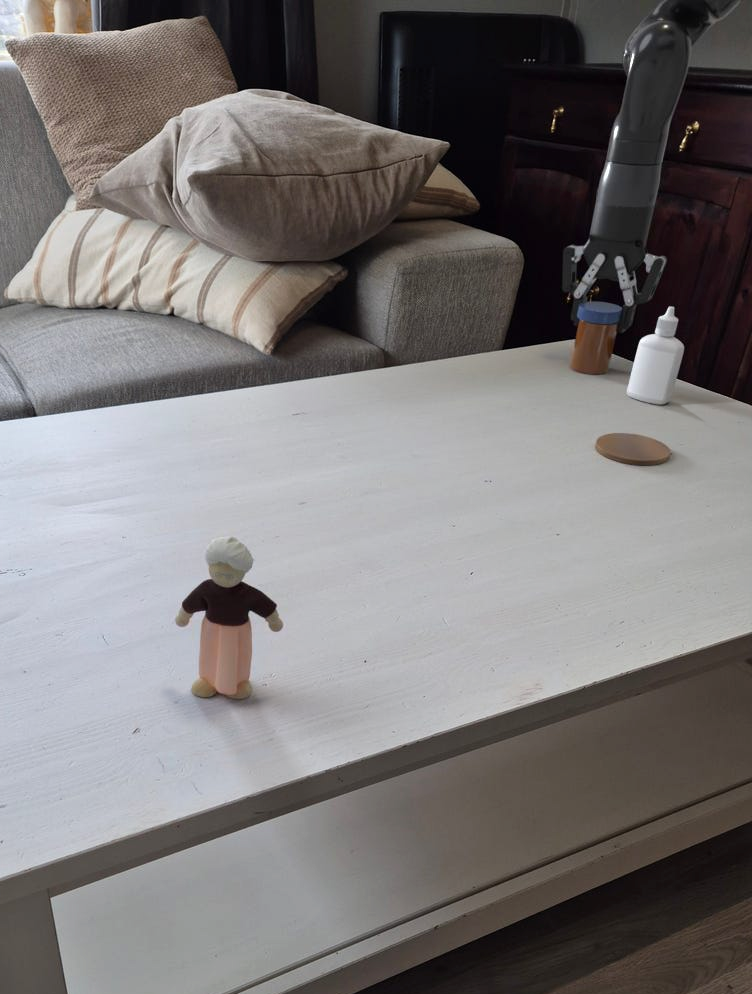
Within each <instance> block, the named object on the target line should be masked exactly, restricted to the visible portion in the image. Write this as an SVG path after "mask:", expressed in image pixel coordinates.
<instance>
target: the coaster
mask: <svg viewBox="0 0 752 994" xmlns="http://www.w3.org/2000/svg"><path fill="white" fill-rule="evenodd" d="M594 448H595V450H596V451H597V452H598V453H599V454H600V455H601V456H603V457H605V458H607V459H609V460H612V461H615V462H618V463H622V464H626V465H633V466H657V465H661V464H663V463H666V462H667V461H669V459H670V456H671V449H670V447H669V446H668V445H666V444H665V443H664V442H662V441H660V440H658V439H655V438H652V437H650V436H646V435H642V434H635V433H629V432H628V433H627V432H614V433H607V434H603V435H600V436H599V437H598V438H596V441H595V444H594Z"/></svg>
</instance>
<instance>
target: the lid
mask: <svg viewBox="0 0 752 994" xmlns="http://www.w3.org/2000/svg"><path fill="white" fill-rule="evenodd" d="M621 312H622V306H620V305H619V304H616V303H615V304H614V303H610V302H606V301H605V302H604V301H587V302H583V303H581V304H580V305H579V307H578V311H577V317H578V318H579V319H580V320H583V321H586V322H590V323H596V324H614V323H617V322H619V321H620V317H621Z"/></svg>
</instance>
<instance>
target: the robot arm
mask: <svg viewBox="0 0 752 994" xmlns="http://www.w3.org/2000/svg"><path fill="white" fill-rule="evenodd" d="M741 1H742V0H661V1H660V2H659V3H658V4H657V5H656V6H655V7H654V8H653V9H652V10H651V11H650V12H649V13H648V14H647V16H646V17H645V18H643V20H642V21H641V22H640V23H639V25H638V26H637V27H636V28H635V29H634V31H633V32H632V33H631V34H630V36H629V37H628V39H627V40H626V43H625V46H624V48H623V51H622V68H623V71H624V74H625V75H626V77H627V79H626V84H625V88H624V93H623V98H622V103H621V107H620V111H619V113H618V114H617V115H616V117H615V119H614V121H613V124H612V127H611V131H610V132H611V133H610V137H609V142H608V148H607V152H606V157H605V163H604V166H603V170H602V171H601V176H600V178H599V184H598V188H597V190H596V195H595V196H596V198H595V199H596V200H595V205H594V210H593V215H592V220H591V226H590V230H589V237H588V240H587V241H586V243H585V244H584V245H575V244H571V245H568V246H567V247H565V248H563V250H562V277H561V279H562V280H561V281H562V282H561V283H562V284H561V290H562V291H563V292H564V293H569V294H570V295H571V296H572V297H573V302H572V308H571V314H570V320H571V321H572V322H573V326H577V327H578V324H579V318H578V317H577V311H578V307H579V305H580V304H581V303H583V302H588V296H587V293H588V292H589V290H590V289H591V287H592V286H593V284H594V283H595V282H596V280H610V281H612V282H619V287H620V290H621V292H622V296H623V301H624V304H623V305H622V306H621V308H622V312H621V317H620V321H619V325H618V330H617V333H620V334H623V333H624V332H626V330H628V329H629V328H630V327H631V326H632V324H633V320H634V318H635V317H634V316H635V313H636V308H637V305H641V304H646V303H647V302H648V301H650V300H651V299H652V298H653V296H654V294H655V291H656V289H657V286H658V284H659V281H660V279H661V278H662V277H661V276H662V274H663V271H664V269H665V267H666V264H667V262H668V261H667V260H668V258H667V256H665V255H660V256H658V255H654V254H651V253H649V252H648V249H647V241H648V238H649V237H648V236H649V232H650V227H651V222H652V218H653V214H654V211H655V210H654V209H655V204H656V200H657V196H658V191H659V189H660V188H659V187H660V182H661V172H662V165H663V164H662V163H663V160H664V156H665V152H666V147H667V142H668V137H669V132H670V126H671V122H672V119H673V116H674V113H675V110H676V107H677V105H678V102H679V99H680V96H681V93H682V91H683V87H684V84H685V81H686V78H687V74H688V71H689V66H690V62H691V55H692V48H693V47H694V46H695V44H696V43H698V42H699V40H700V39H701V38H702V37H703V36H704V34H705V33H706V32H707V31H708V30H709V29H710V28H711V27H712V26H713V25H714V24H716V23H717V22H720V21H721V20H723V19H724V18H726V17H727V16H728V15H729V14H731V12H733V11H734V9H736V7H737V6H738V5H739V4H740V3H741ZM582 255H583V256H584V258H585V261H586V263H587V265H588V267H589V268H588V269H587V271H586V272H585V274H584V275H583V276H582V278H581V280H580V283H577V267H578V266H577V263H578V262H579V261H580V260H581V258H582ZM642 263H645V271H646V273H648V275H647V277H646V280H645V281H644V284H643V286H642V290H641V292H638V288H637V278H636V272H635V271H636V270H637V268H639V267H640V266H641V265H642Z"/></svg>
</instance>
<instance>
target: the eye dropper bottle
mask: <svg viewBox="0 0 752 994" xmlns="http://www.w3.org/2000/svg"><path fill="white" fill-rule="evenodd" d="M678 323H679V318H678V317H676V316H675V307H674V306H668V308H667V310H666V312H665V314H663V315H659V317H658V319H657V322H656V327H655V330H654V333H652V334H647V335H645V336H643V337H641V339H640V340H639V342H638V345H637V349H636V353H635V357H634V361H633V363H632V364H633V365H632V369H631V373H630V376H629V381H628V383H627V384H628V385H627V388H626V394H627V396H628V397H630V398H632V399H635V400H637V401H640V402H644V403H646V404H647V403H648V404H652V405H665V404H667V403H669V402H670V401H671V399H672V396H673V393H674V389H675V386H676V382H677V378H678V374H679V371H680V367H681V364H682V360H683V355H684V353H685V345H684V344H683V343H682V341H680V340H679V339H678V338H676V337H675V335H676V331H677V328H678Z"/></svg>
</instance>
